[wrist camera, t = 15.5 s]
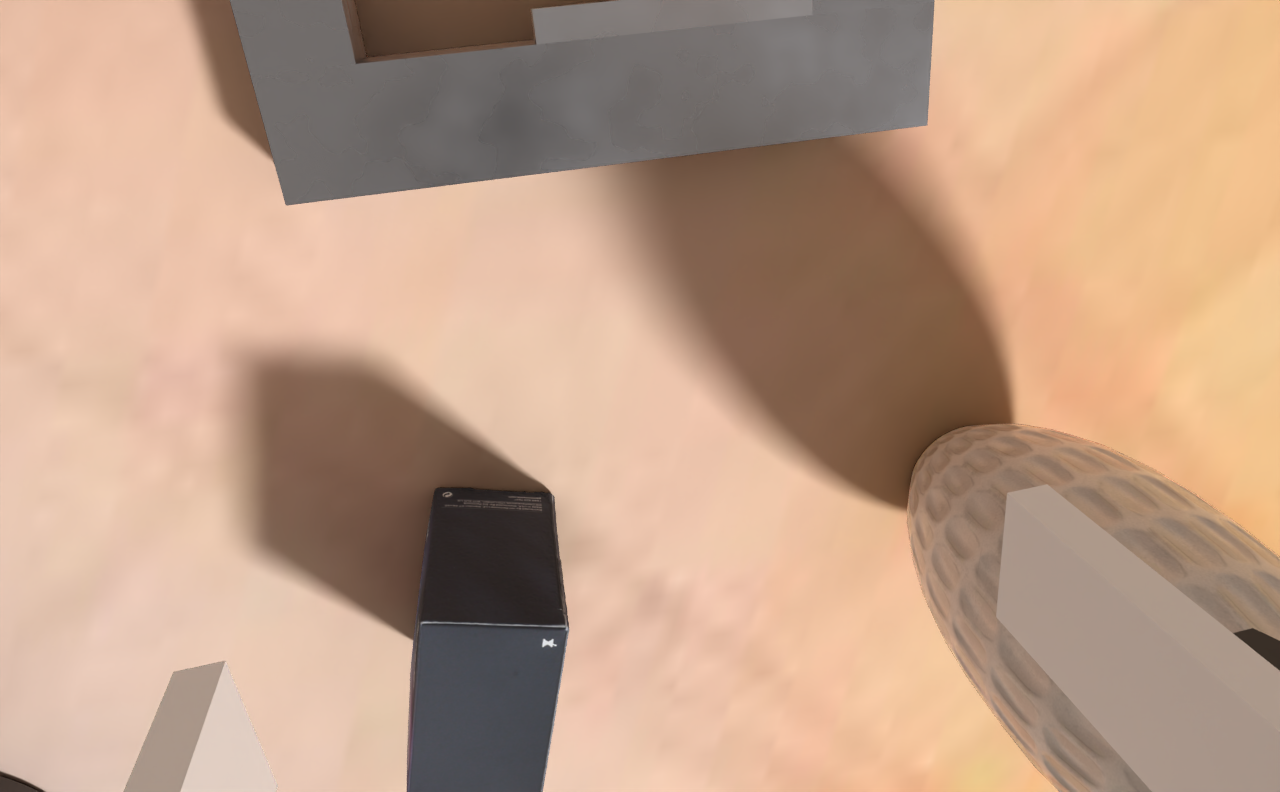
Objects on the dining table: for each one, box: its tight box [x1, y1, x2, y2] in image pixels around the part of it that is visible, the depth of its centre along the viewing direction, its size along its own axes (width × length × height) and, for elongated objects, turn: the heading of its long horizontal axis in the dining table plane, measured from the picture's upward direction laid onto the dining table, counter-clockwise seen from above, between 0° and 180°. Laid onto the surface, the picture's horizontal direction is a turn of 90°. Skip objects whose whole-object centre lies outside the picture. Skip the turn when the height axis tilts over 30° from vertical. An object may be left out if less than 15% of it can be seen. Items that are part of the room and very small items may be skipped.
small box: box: [407, 488, 569, 792], centre depth 41 cm, size 11×6×10 cm, turn 171°
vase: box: [907, 424, 1280, 792], centre depth 36 cm, size 13×13×28 cm
